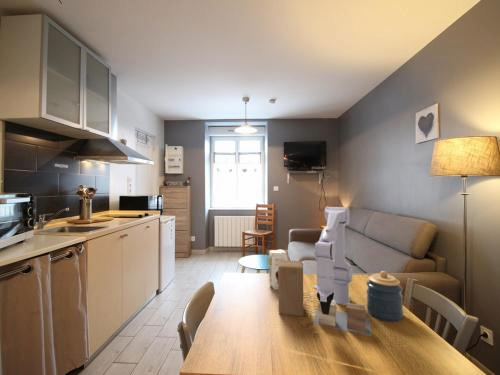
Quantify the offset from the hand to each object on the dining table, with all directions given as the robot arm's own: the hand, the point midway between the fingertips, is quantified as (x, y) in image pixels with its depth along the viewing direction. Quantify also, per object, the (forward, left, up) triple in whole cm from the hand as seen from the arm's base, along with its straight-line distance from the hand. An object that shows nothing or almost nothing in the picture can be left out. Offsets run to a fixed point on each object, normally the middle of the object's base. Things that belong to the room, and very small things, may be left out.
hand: (325, 313), depth 85 cm
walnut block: (-6, +10, -6) cm, 13 cm away
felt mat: (-10, +5, -7) cm, 13 cm away
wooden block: (-11, -15, -7) cm, 20 cm away
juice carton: (-33, -27, -7) cm, 43 cm away
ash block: (-6, 0, -6) cm, 9 cm away
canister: (-22, +21, -7) cm, 31 cm away
